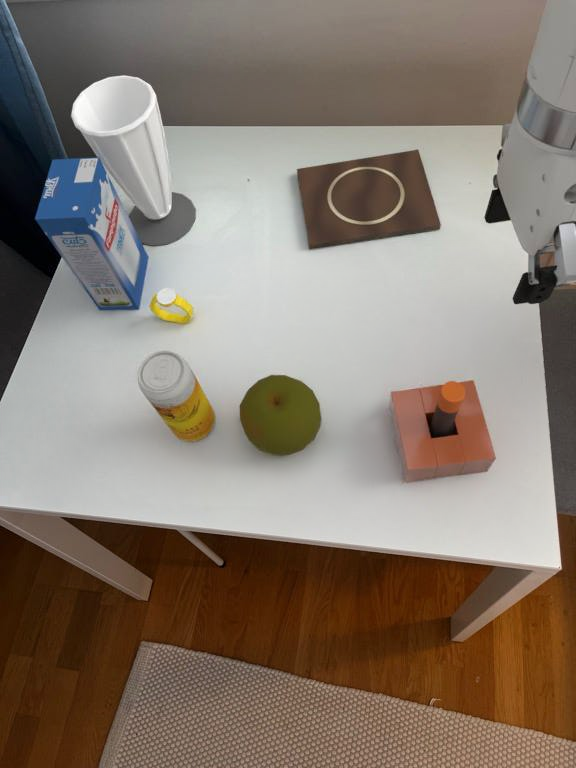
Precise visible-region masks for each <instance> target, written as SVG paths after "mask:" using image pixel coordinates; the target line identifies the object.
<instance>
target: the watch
mask: <svg viewBox="0 0 576 768" xmlns="http://www.w3.org/2000/svg"><path fill="white" fill-rule="evenodd" d="M173 305H174V306H176V307H178V308H180V309H182V310H183V311H184V312H185V313H186V314H180V313H174V312H169V311H167V310H165V309H163V308H169V307H172V306H173ZM160 306H161V307H163V308H161V307H160ZM149 308H150V311H151V312H152V313H153V314H154V315H155V316H156V317H158V318H159V319H161V320H163V321H165V322H172V323H176V324H182V325H184V324H187V323H189V322H190V321H191V319H192V316H193V313H194V308H193V306H192V304H191V303H190V302H189V301H187V300H186V299H185V298H184V297H182V296H179V295H177V292H176V291H175V290H174V289H173V288H170V287H165V288H162V289H160V290H159V291H158V292H157V293H155V294H154V295H153V296H152V298H151V300H150V303H149Z"/></svg>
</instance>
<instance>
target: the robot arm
mask: <svg viewBox="0 0 576 768" xmlns="http://www.w3.org/2000/svg"><path fill="white" fill-rule="evenodd" d="M535 37H536V38H535V41H534V44H533V48H532V51H531V55H530V59H529V61H528V64H527V65H528V66H527V68H526V72H525V75H524V78H523V82H522V85H521V89H520V93H519V96H518V99H517V102H516V103H517V104H516V106H515V110H514V115H513V117H512V120H511V123H509V122H508V123H504V124H503V125H502V129H501V139H500V140H501V141H500V147H501V149H498V152H497V154H496V160H497V164H498V165H497V170H496V174H494V175H493V177H492V186H493V188H494V189H492V190H491V192H490V196H489V200H488V203H487V206H486V209H485V214H484V217H483V219H484V221H485V223H487V224H495V223H496V224H497V223H502V222H508V221H511V225H512V226H513V229H514V232H515V235H516V237H517V240H518V242H519V245H520V246H521V248H522V250H523V251H524V252H525V253H526V254H528V255H527V257H528V258H527V272H524V273H522V275H521V277H520V279H519V281H518V284H517V287H516V289H515V291H514V293H513V296H512V297H511V299H512V302H513V304H514V305H522V304H528V305H537V304H540V303H543V302H545V301H547V300H549V299H550V297H551V295H552V294H553V291H554V290H555V288H556V287H557V288H559V287H565V286H570V285H572V284H574V283H576V0H546V3H545V7H544V10H543V12H542V17H541V20H540V24H539V27H538V31H537V35H536V36H535ZM552 239H553V241H552ZM551 241H552V242H551ZM550 253H551V254H552V253H554V261H553V263H554V265H547V266H541V255H544V254H550Z"/></svg>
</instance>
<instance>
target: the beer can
mask: <svg viewBox="0 0 576 768" xmlns="http://www.w3.org/2000/svg"><path fill="white" fill-rule="evenodd" d="M137 384H138V388H139V390H140V391H141V393H142V394H143V396H144V397H145V398H146V400H147V401H148V402H149V403H150V405H151V406H152V407H153V408H154V410H155V411H156V412H157V414H158V416H159V417H160V418H161V419H162V420H163V422H164V423H165V424H166V426H167V427H168V428H169V429H170V431H171V432H172V434H173V435H174V436H175V437H176V438H177V439H179V440H181V441H183V442H190V443H191V442H198V441H200V440H202V439H204V438H205V437H207V436H208V435H209V434H210V433H211V431H213V428H214V427H215V424H216V423H215V422H216V414H215V411H214V408H213V407H212V405H211V403H210V401H209V399H208V397H207V395H206V393H205V391H204V390H203V388H202V386H201V384H200V382H199V380H198V379H197V377H196V374H194V372H193V369H192V368H191V365H190V364H189V362H188V361H187V359H186V358H185V357H184V356H182V355H181V354H179V353H177V352H174V351H171V350H159V351H156V352H153V353H151V354H149V355H148V356H147V357H146V358H144V360H143V361H142V362H141V364H140V365H139V368H138V372H137Z"/></svg>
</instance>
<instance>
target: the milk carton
mask: <svg viewBox="0 0 576 768" xmlns="http://www.w3.org/2000/svg"><path fill="white" fill-rule="evenodd" d="M128 216H129V215H128V213H127V211H126V208H125V206H124V205H123V203H122V201H121V199H120V196H119V195H118V192H117V190H116V188H115V186H114V184H113V183H112V181H111V179H110V177H109V174H108V171H107V169H106V168H105V166H104V165H103V164H102V162H101V160H100V158H99V157H97V156H95V157H78V158H59V159H58V158H57V159H52V161H51V164H50V167H49V170H48V173H47V177H46V180H45V184H44V186H43V190H42V193H41V197H40V201H39V203H38V207H37V210H36V214H35V217H34V220H35V221H36V223H37V224H38V225H39V227H40V228H41V230H42V231H43V233H44V234H45V235H46V237H47V238H48V240H49V241H50V242H51V244H52V245H53V246H54V248H55V250H56V251H57V252H58V254H59V255H60V257H61V258H62V259H63V261H64V262H65V263H66V265H67V267H68V268H69V269H70V271H71V272H72V273H73V275H74V277H75V278H76V279H77V281H78V283H80V285H81V286H82V288H83V289H84V291H85V292H86V294H87V295H88V296H89V298H90V299H91V301H92V303H94V305H95V306H96V308H97V309H98V311H131V310H132V311H133V310H135V311H136V310H140V308H141V302H142V297H143V291H144V286H145V280H146V274H147V268H148V264H149V254H148V253H147V251H146V249H145V247H144V244H142V243H141V241H140V239H139V237H138V235H137V233H136V231H135V229H134V227H133V225H132V223H131V221H130V219H129V217H128Z"/></svg>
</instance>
